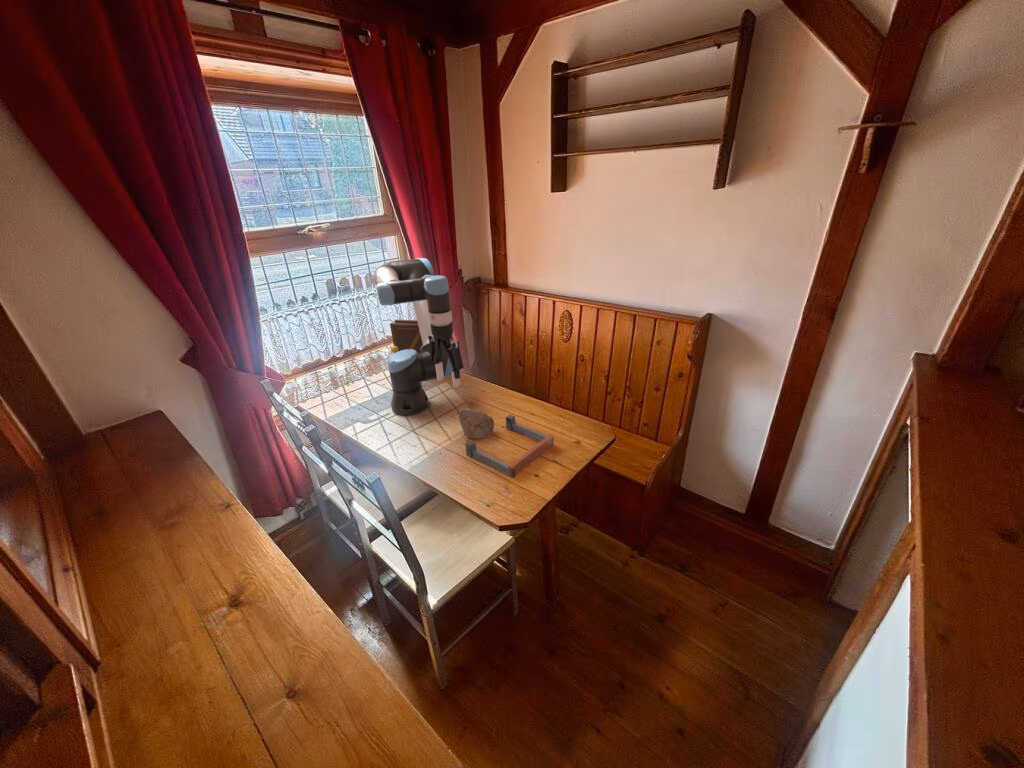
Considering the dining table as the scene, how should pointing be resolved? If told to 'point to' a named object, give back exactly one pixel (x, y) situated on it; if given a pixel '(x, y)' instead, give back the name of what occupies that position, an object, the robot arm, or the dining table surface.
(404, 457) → the dining table surface
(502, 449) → the dining table surface
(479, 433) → the rock
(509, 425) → the frame
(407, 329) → the book
